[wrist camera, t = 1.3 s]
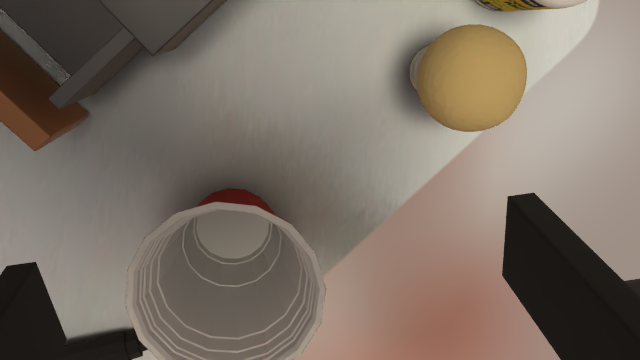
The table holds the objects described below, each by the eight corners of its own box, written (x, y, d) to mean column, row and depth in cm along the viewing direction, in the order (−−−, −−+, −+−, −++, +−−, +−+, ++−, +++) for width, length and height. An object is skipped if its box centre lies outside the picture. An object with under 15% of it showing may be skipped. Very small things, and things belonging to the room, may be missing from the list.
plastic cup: (177, 134, 38) (150, 179, 27) (321, 176, 40) (353, 235, 29) (138, 271, 40) (99, 367, 29) (276, 303, 43) (290, 404, 31)
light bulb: (397, 18, 38) (451, 15, 29) (481, 32, 39) (559, 33, 30) (381, 108, 40) (427, 133, 30) (462, 118, 41) (531, 147, 31)
